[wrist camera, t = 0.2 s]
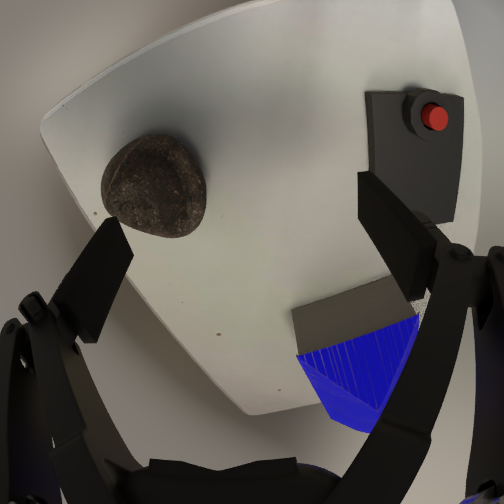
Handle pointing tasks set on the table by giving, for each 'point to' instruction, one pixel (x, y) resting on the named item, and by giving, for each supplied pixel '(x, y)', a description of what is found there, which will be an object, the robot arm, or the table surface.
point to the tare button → (434, 117)
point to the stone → (155, 187)
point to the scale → (417, 149)
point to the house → (356, 349)
